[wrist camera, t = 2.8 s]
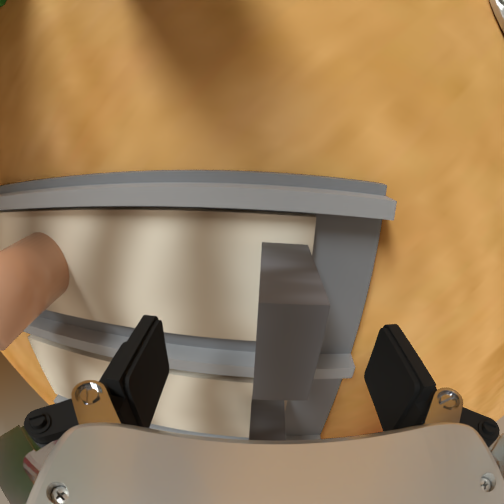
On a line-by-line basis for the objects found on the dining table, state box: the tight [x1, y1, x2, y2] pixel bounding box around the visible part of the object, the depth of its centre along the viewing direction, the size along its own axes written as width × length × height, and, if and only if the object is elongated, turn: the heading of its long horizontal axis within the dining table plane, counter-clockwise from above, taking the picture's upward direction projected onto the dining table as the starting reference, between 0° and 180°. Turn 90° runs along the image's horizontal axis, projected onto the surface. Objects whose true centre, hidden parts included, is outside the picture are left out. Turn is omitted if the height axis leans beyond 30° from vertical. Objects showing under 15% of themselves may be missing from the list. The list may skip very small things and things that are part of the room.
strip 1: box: [0, 207, 330, 401], centre depth 13 cm, size 24×8×7 cm, turn 87°
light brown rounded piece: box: [0, 232, 69, 350], centre depth 13 cm, size 5×5×7 cm
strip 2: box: [28, 334, 287, 441], centre depth 18 cm, size 24×8×7 cm, turn 87°
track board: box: [0, 170, 397, 441], centre depth 18 cm, size 28×24×2 cm
